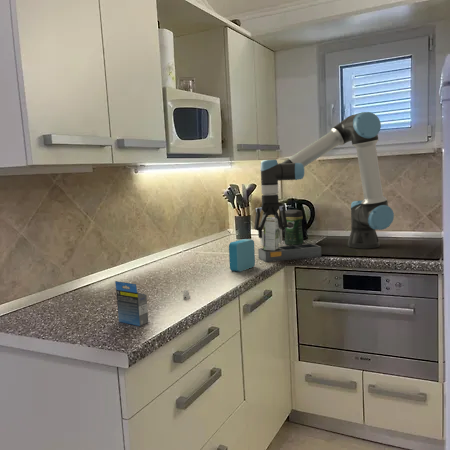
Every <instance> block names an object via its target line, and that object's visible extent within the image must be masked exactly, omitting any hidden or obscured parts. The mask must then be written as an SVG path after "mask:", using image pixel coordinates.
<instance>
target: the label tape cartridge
mask: <svg viewBox="0 0 450 450" xmlns="http://www.w3.org/2000/svg"><path fill="white" fill-rule="evenodd" d="M114 284H115V292H116V303H117V314H118V315H117V317H118V322H119V323H124V324H127V325H131V326H132V325H133V326H137V327H142V326H144V325H147V324H148V323H149V313H148V310H149V309H148V297H147V294H144V293H141V292H138V289H137V283H132V282H131V283H130V282H123V281H118V280H115V281H114ZM125 287H127V288H125Z"/></svg>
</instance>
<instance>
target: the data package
mask: <svg viewBox="0 0 450 450" xmlns="http://www.w3.org/2000/svg"><path fill="white" fill-rule="evenodd" d="M255 254H256V252H255V241H254V239H248V238H244V239H239V240H235V241H231V242H229V244H228V258H229V261H228V263H229V270H230V271H233V272H237V273H238V272H244V271H246V269H247V270H249V268H250V269H253V268H254V267H255V265H256V257H255ZM252 267H253V268H252ZM243 270H244V271H243Z"/></svg>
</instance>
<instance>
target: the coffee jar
mask: <svg viewBox="0 0 450 450" xmlns="http://www.w3.org/2000/svg"><path fill="white" fill-rule="evenodd" d="M285 215H286V220H287V225H288V227H287V228H285V229H284V245H285V246H291V245H301V244H305V243H304V235H303V226H302V225H303V218H304V217H303V211H302V210H299V209H285Z"/></svg>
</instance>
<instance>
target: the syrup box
mask: <svg viewBox="0 0 450 450" xmlns="http://www.w3.org/2000/svg"><path fill="white" fill-rule="evenodd" d="M279 229H280V227H279V224H278V219H277V218H275V217H267V219H266V221H265V224H264V227H263V229H262V231H264V246H263V247H262V248H263V250H270V251H275V250H277V249H279V247H280V243H279Z"/></svg>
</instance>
